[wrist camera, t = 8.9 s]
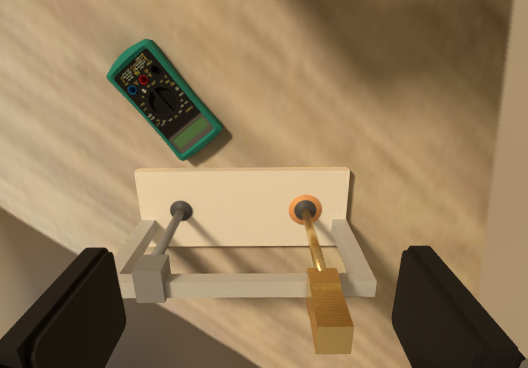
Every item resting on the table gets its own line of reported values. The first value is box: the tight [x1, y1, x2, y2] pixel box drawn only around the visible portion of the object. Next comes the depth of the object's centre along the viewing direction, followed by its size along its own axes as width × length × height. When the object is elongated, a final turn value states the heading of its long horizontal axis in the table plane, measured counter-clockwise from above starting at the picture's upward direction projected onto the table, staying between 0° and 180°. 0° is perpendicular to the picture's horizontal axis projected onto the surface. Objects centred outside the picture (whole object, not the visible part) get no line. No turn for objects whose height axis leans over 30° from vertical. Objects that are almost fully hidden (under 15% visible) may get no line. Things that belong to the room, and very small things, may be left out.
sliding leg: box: [302, 208, 354, 354], centre depth 38 cm, size 4×3×22 cm
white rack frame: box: [114, 167, 377, 303], centre depth 42 cm, size 12×30×17 cm, turn 90°
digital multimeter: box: [107, 39, 223, 161], centre depth 43 cm, size 7×15×3 cm, turn 38°
